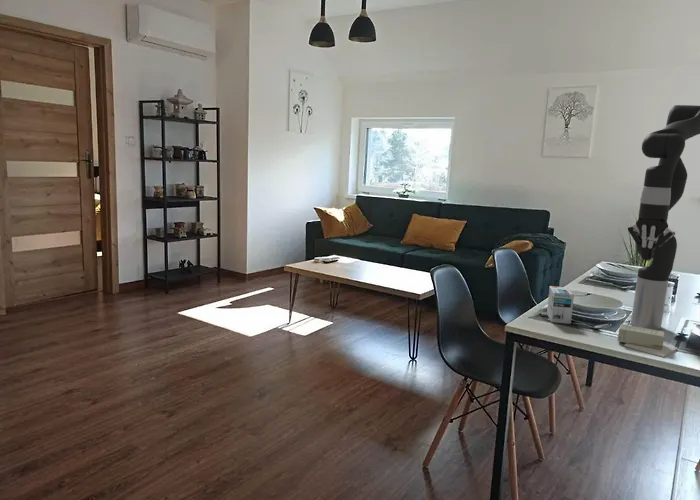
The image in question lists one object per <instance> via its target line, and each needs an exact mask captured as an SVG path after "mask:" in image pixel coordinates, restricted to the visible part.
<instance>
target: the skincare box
mask: <svg viewBox="0 0 700 500" xmlns="http://www.w3.org/2000/svg"><path fill="white" fill-rule="evenodd" d="M665 333H666V332H665V331H663V330H652V329H646V328H641V327H635V326H633V325H628V324H624V323H621V324H620V326H619V329H618V336H617V342H619V343H624V344H626V343H630V344H635V345H640V346H645V347H651V348H656V349H661V350H662V347H663V344H664V342H665V341H664V340H665Z"/></svg>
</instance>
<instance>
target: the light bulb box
mask: <svg viewBox="0 0 700 500" xmlns="http://www.w3.org/2000/svg"><path fill="white" fill-rule="evenodd" d="M548 287H549V288H548V299H547V310H546V315H547V317H548V319H549V320H550V322H551V323H557V324H569V325H571V323H572V317H573V316H572V315H573V307H574V306H573V305H574V298H575V293H573V292H572V291H571V289H570V288H569V287H565V286H563V287H562V286H555V285H554V286H553V285H550V286H548Z"/></svg>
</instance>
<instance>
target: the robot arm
mask: <svg viewBox="0 0 700 500" xmlns="http://www.w3.org/2000/svg"><path fill="white" fill-rule="evenodd" d="M665 125H666V126H665V127H664V128H662V129H659V130H656V131H653V132H650V133H649V134H647V135H646V136H645V138H644V139H643V142H642V144H641V151H642V154H643V155H644V156H645V157H646V158H649V159H659V161H658V164H657V165H654V166H649V167H647V168H646V169H645V175H644V179H643V180H644V182H643V187H642V191H641V197H640V201H639V202H640V203H639V210H638V219H637V221H635V224H634V225H632V226H629V227H627V230H628V232H629V234H630V235H631V237H632V240H634V242H635V244H636V246H635V248H636V252H637V253H638V254H639V255H640V256H641V258H642V260H643V261H648V262H649V261H651V264H650V265H649V266H642V267H639V269H638V271H637V277H636V286H635V290H634V299H633V307H632V312H631V320H630V326H635V327H641V328H646V329H652V330H657V331H661V329H662V324H663V317H664V310H665V303H666V298H667V297H666V296H667V291H668V286H669V285H668V284H669V280H670V279H669V278H670V275H671V273H672V270H673V267H674V263H675V259H676V255H677V248H678V242H677V238H676V237H675V235H676V232H675V231H672V230H671V229H670V228H669V224H668V218H669V212H670V210H672V208H673V207H675V205H677V204H678V202H679V201H680V200H681V198H682V197H683V194H684V191H685V188H686V183H687V179H688V172H687V168H686V166H685V163H684V162H683V160H682V158H681V156H682V154H683V152H684V150H685V147H686V141H687V140H689V139H691V138H694V137H696V136H697V135H700V105H694V104H693V105H692V104H691V105H690V104H689V105H688V104H687V105H685V104H682V105H681V104H678V105H677V104H675V105H673V106H672V107H671V108H670V110H669V112H668V114H667V120H666V124H665Z"/></svg>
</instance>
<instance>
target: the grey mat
mask: <svg viewBox="0 0 700 500" xmlns="http://www.w3.org/2000/svg"><path fill="white" fill-rule="evenodd" d="M624 347H627V348H630V349H633V350H637V351H640V352H644V353H648V354H651V355H653V356H657V357H662V358H665V357H667V356H668V355H670V354H672V353H674V352H676V351H678V347H676V346H672V345H669V344H665V343H663V347H662V350H661V349H656V348H651V347H645V346H640V345H635V344H630V343H624Z"/></svg>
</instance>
